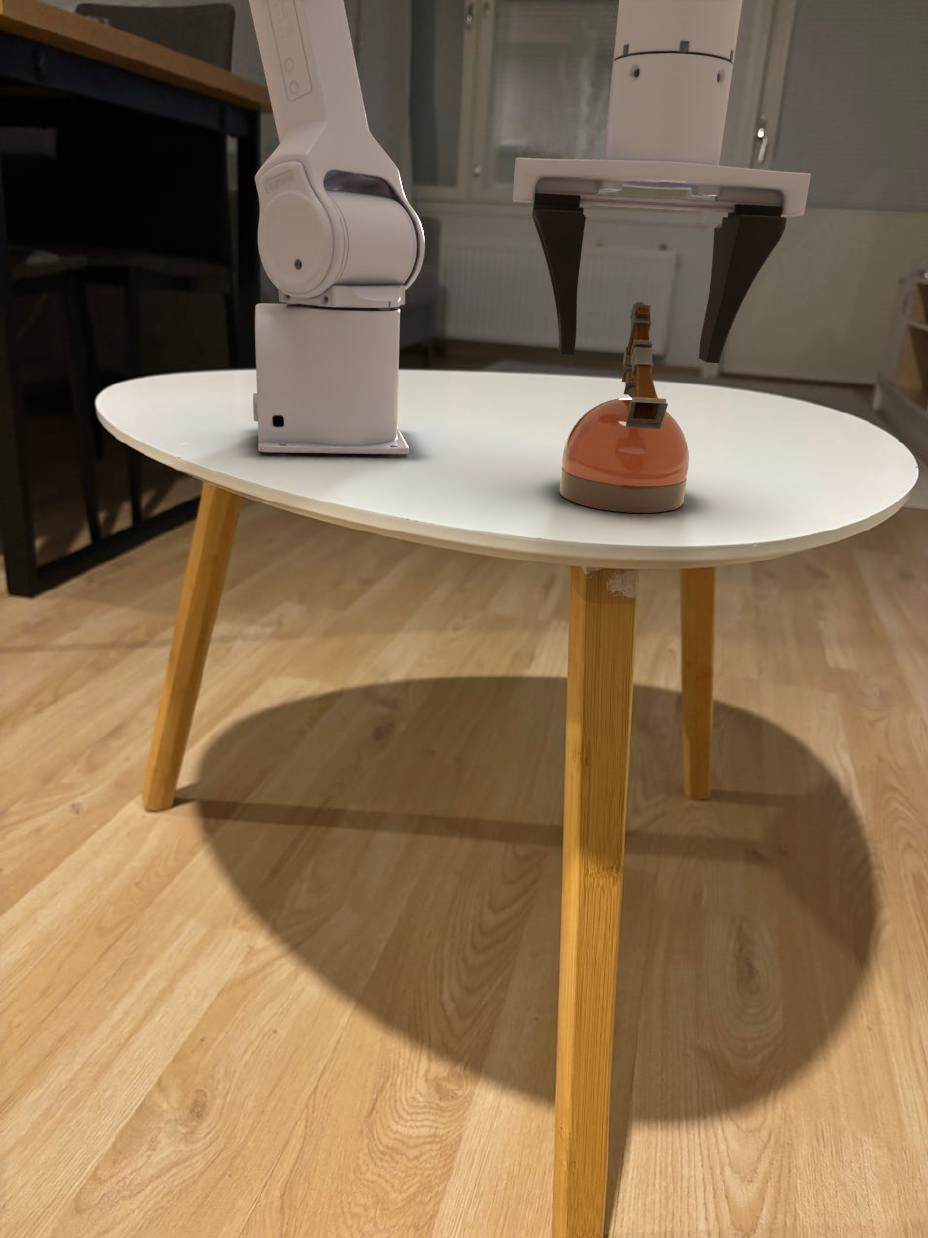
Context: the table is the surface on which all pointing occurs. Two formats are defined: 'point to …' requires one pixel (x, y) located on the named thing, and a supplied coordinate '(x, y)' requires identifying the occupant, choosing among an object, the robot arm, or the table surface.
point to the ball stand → (624, 462)
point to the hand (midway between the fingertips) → (637, 356)
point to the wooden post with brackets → (641, 374)
